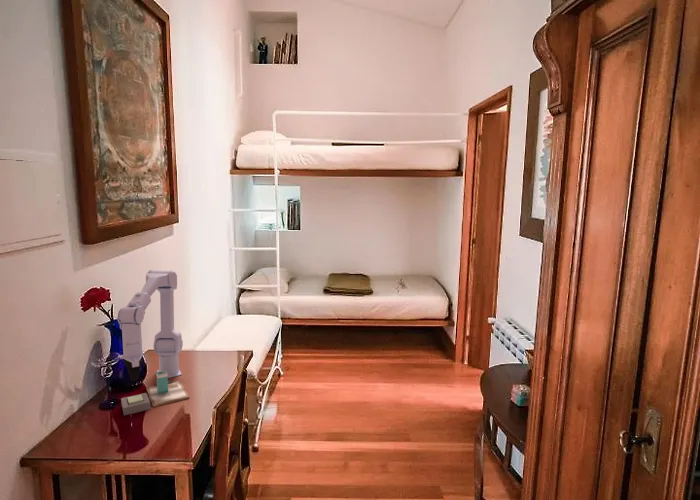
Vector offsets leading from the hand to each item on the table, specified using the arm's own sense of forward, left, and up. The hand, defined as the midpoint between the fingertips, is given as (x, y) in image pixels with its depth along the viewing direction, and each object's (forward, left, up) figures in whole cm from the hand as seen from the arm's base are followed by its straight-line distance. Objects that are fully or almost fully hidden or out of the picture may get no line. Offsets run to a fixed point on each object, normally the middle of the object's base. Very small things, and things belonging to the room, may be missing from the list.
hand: (134, 379), depth 144 cm
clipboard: (-5, +11, -10) cm, 16 cm away
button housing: (0, 0, -10) cm, 10 cm away
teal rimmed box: (-6, +10, -9) cm, 14 cm away
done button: (0, 0, -9) cm, 9 cm away
